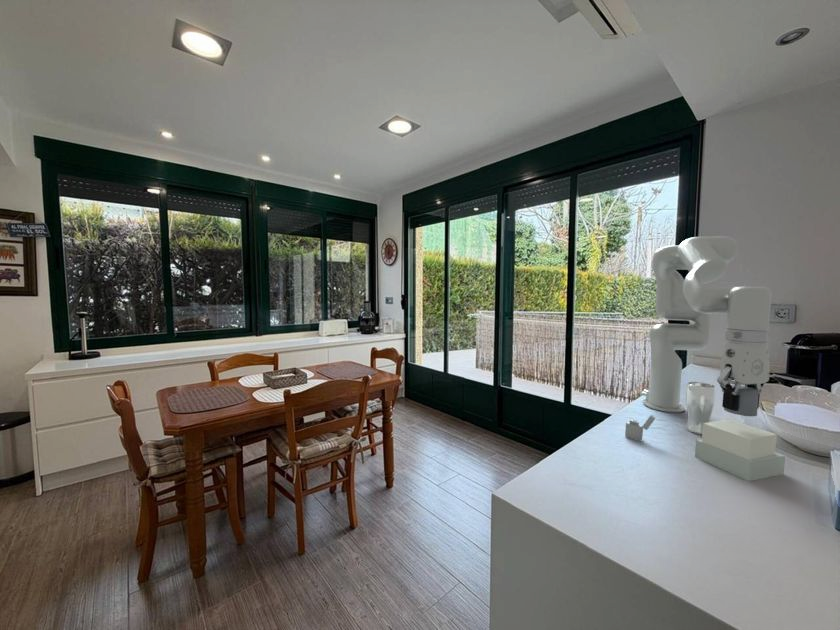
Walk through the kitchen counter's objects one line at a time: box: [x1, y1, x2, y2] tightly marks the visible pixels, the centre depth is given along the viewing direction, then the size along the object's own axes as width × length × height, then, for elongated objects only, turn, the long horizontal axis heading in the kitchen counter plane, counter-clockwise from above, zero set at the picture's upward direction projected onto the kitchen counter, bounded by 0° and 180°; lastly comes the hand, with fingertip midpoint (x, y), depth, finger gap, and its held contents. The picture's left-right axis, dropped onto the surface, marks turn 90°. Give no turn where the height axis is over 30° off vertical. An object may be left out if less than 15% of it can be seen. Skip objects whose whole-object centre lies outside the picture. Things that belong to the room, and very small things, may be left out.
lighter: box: [624, 415, 657, 442], centre depth 100 cm, size 7×2×8 cm, turn 45°
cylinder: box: [723, 384, 759, 417], centre depth 85 cm, size 6×6×6 cm
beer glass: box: [685, 381, 716, 436], centre depth 106 cm, size 7×7×15 cm
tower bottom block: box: [694, 438, 786, 482], centre depth 86 cm, size 12×12×5 cm
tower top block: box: [701, 418, 778, 460], centre depth 86 cm, size 10×10×5 cm
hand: (740, 407), depth 85 cm, fingers closed on cylinder, 6 cm apart
